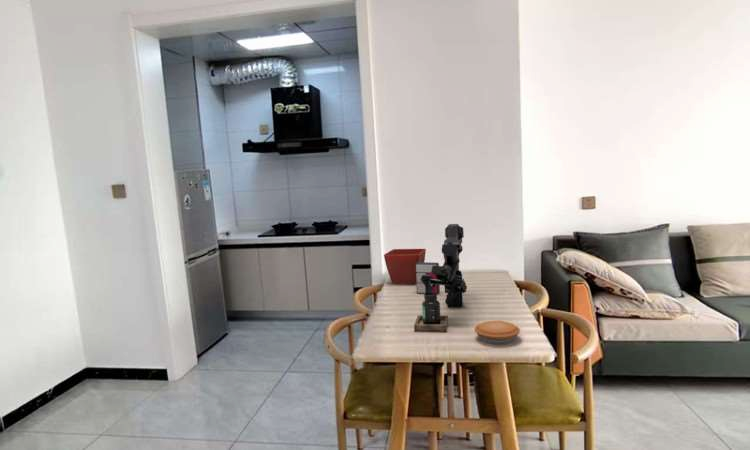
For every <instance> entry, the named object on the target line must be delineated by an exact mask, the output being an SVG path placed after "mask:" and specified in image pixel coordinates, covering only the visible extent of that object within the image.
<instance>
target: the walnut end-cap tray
mask: <svg viewBox="0 0 750 450" xmlns="http://www.w3.org/2000/svg"><path fill="white" fill-rule="evenodd" d="M440 316H441V324H440V325H436V324H423V314H422V315H421V314H420V315H417V317H416V320H415V322H414V325H413V326H414V327H413V328H414V330H413V331H414V332H420V333H422V332H423V333H431V332H432V333H446V332H447V330H448V326H449V315H446V314H445V315H442V314H440Z"/></svg>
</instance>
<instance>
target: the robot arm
mask: <svg viewBox="0 0 750 450" xmlns="http://www.w3.org/2000/svg"><path fill="white" fill-rule="evenodd" d="M444 236H445V239H444V240H443V241H444V242H443V243H442V245H441V254H443V260H444V262H443V264H442V265H439V266H434V265H433V266H432V271H431V274H435V277H436V278H437V280H436V279H433V278H432V276H430V275H422V277H421V279H420V280H421V281H422V283H423V284H424V285H425V294H426V293H432V292H433V290H434V288H433V287H435V285H436V284H437V285H440V286H443V287H444V294H446V297H445V301H444V303H445V305H446V306H447V308H463V307H464V302H463V301H464V299H463V294H465V293H467V288H468V286H467V284H466V281H465V280H464V278H463V274H462V271H461V270H460V262H461V261H460V254H461V253H462V252H463V249H464V248H463V244H462V243H463V238H464V236H465V235H464V227H463V226H460V225H459V224H458V223H448V224H447V226H446V227H445V228H444Z"/></svg>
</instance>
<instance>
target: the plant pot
mask: <svg viewBox="0 0 750 450" xmlns="http://www.w3.org/2000/svg"><path fill="white" fill-rule="evenodd" d="M426 252H427V251H426V248H393V249H391V250H390V251H388V252H386V253H385V254H383V258H384V262H385V263H384V264H385V266H386V269H387V273H388V276H389V278H390V280H391V283H392V284H393V285H416V268H415V264H416V263H418V262H425V261H426Z"/></svg>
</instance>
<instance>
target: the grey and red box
mask: <svg viewBox="0 0 750 450" xmlns="http://www.w3.org/2000/svg"><path fill="white" fill-rule="evenodd" d="M433 265H434V266H440V263H439V262H430V261H429V262H425V261H424V262H418V263H416V264H415V268H416V284H415V285H416V286H415V287H416V294H421V295H424V294H425V285H424V284H423V283H422V281H421V280H420V279H421V277H422V275H430V276H432V278H433V279H436V280H437V278H436V277H435V274H431V271H432V266H433ZM440 286H441V285H437V284H436V285H435V287H433V288H434V290H433V292H432V293H436V294H437V295H439V294H440V293H441V288H440Z"/></svg>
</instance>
